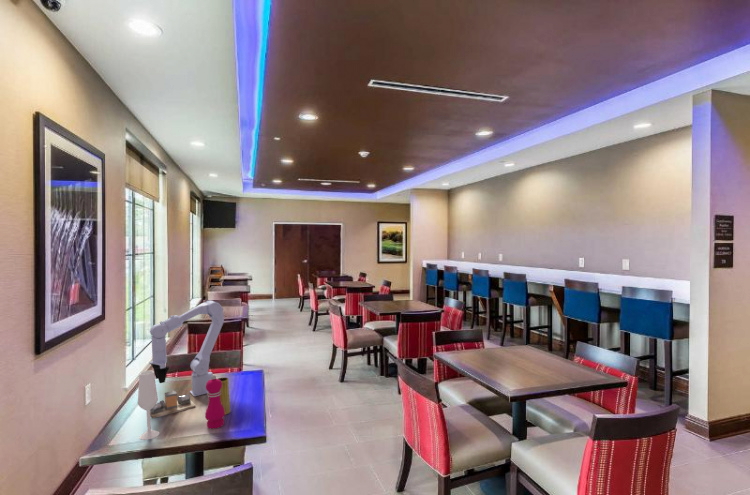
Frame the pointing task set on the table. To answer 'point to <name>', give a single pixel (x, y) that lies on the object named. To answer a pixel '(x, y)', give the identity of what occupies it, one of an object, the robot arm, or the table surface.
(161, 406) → the shaft
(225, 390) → the vase
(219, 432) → the table surface
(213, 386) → the pepper mill
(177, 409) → the plate
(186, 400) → the shaft
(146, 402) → the champagne flute
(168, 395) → the orange rectangular block
